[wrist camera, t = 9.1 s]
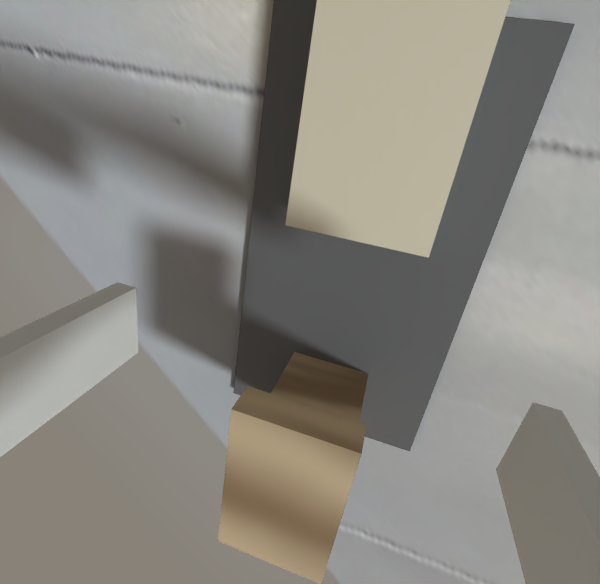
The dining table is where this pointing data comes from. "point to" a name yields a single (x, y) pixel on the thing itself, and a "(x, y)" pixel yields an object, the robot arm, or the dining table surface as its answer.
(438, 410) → the dining table surface
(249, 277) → the mat
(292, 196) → the two-tone tile
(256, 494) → the oak shelf
